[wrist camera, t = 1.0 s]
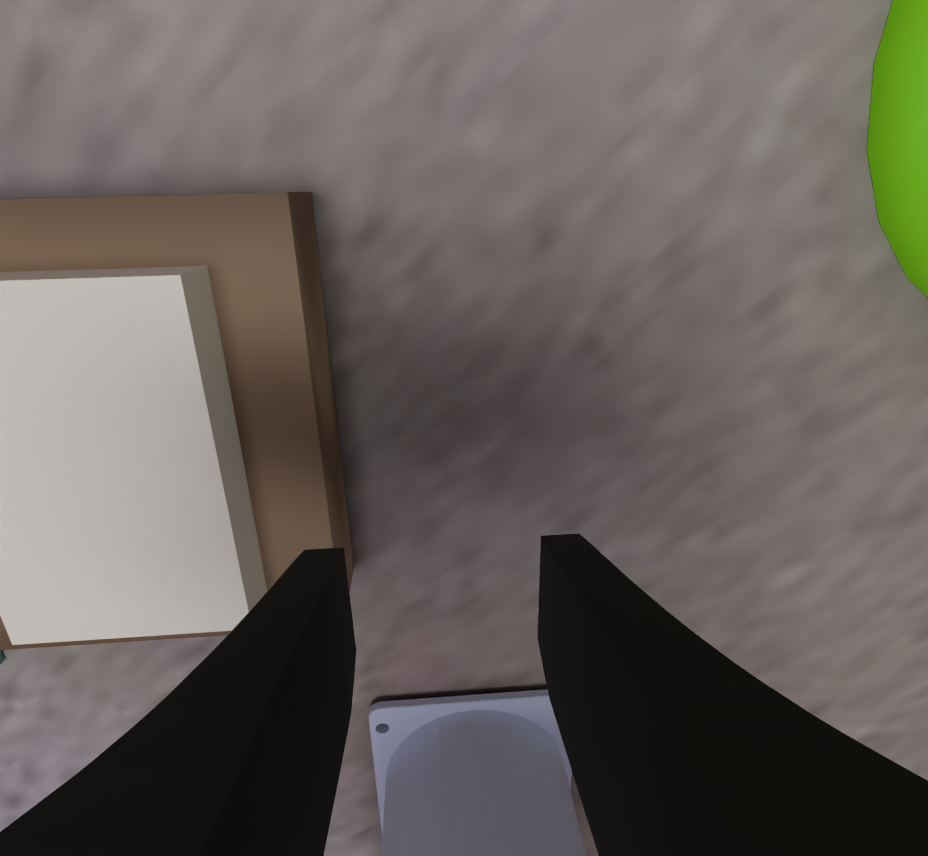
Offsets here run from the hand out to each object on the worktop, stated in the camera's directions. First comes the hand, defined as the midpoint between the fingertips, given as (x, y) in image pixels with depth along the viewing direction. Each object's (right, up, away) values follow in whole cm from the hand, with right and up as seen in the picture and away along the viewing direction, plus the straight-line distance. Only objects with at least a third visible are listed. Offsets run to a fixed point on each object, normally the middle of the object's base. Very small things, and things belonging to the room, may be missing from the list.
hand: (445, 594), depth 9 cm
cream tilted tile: (-8, +2, +5) cm, 10 cm away
